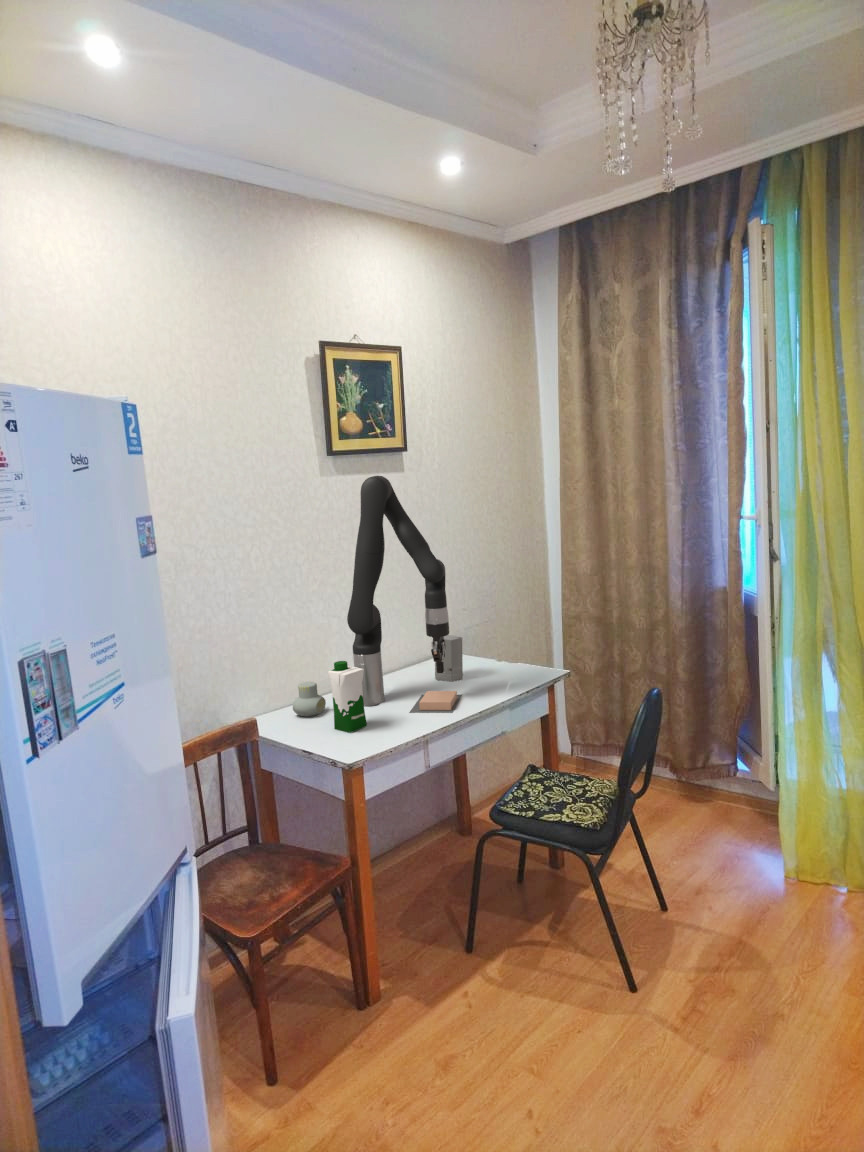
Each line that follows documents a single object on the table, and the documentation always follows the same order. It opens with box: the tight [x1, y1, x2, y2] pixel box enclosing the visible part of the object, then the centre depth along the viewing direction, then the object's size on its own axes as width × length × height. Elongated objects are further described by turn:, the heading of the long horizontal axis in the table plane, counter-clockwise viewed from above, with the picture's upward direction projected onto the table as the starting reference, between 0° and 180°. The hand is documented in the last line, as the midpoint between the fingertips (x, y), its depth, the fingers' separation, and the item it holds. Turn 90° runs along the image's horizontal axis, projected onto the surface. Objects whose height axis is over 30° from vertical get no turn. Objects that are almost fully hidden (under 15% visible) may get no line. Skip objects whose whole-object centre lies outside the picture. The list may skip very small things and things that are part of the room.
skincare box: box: [434, 634, 464, 683], centre depth 274 cm, size 8×7×16 cm
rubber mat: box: [408, 693, 463, 714], centre depth 246 cm, size 14×19×1 cm
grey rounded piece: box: [292, 681, 326, 717], centre depth 245 cm, size 11×8×10 cm
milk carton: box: [327, 660, 368, 734], centre depth 228 cm, size 9×9×20 cm
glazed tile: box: [419, 690, 458, 710], centre depth 244 cm, size 10×3×12 cm
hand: (440, 672), depth 249 cm, fingers closed
